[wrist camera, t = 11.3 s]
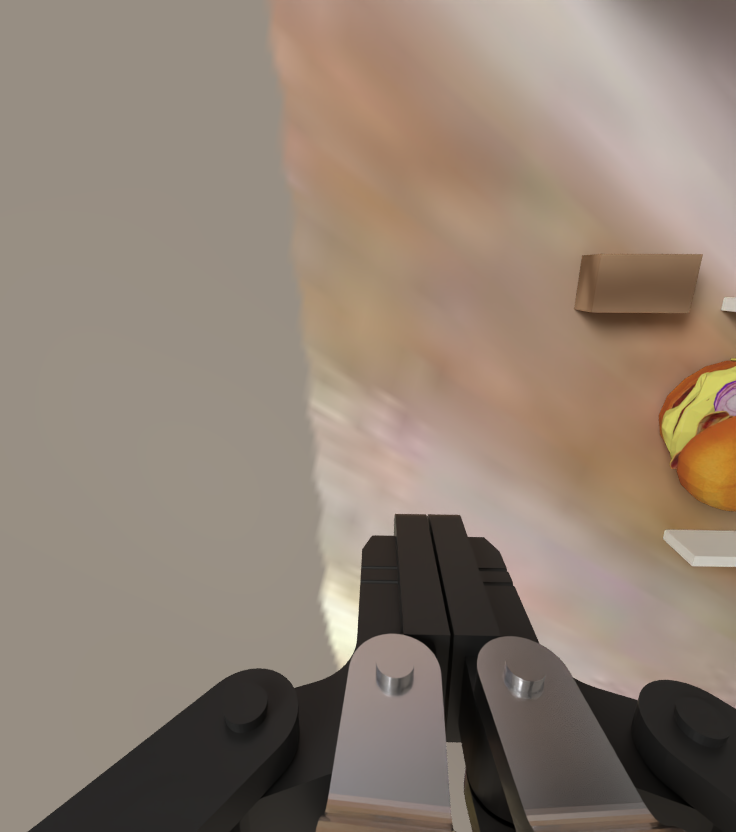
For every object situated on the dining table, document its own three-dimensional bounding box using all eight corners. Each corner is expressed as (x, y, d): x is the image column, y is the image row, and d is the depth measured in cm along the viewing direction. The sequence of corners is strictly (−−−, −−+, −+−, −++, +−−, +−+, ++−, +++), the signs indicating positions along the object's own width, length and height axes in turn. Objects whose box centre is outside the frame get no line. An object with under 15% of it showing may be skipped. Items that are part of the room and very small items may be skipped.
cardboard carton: (582, 255, 33) (601, 253, 30) (674, 256, 33) (702, 254, 30) (574, 309, 34) (591, 312, 32) (663, 309, 34) (689, 313, 31)
